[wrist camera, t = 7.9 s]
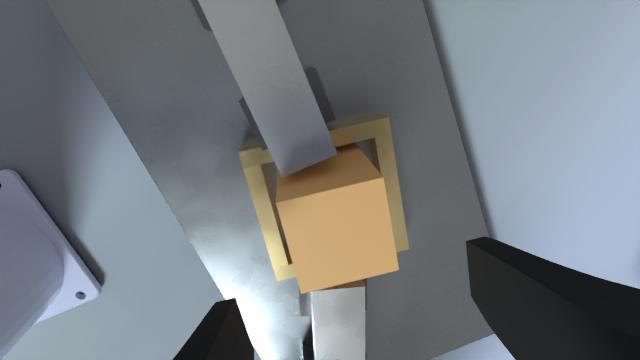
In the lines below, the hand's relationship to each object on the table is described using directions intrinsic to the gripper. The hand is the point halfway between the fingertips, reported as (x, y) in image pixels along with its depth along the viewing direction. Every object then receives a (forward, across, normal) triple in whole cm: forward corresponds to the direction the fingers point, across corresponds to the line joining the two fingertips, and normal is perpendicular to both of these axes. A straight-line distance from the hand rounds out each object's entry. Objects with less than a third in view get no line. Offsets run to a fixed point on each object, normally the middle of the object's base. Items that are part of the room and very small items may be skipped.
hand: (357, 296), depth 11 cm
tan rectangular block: (+9, 0, 0) cm, 9 cm away
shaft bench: (+10, 0, 0) cm, 10 cm away
